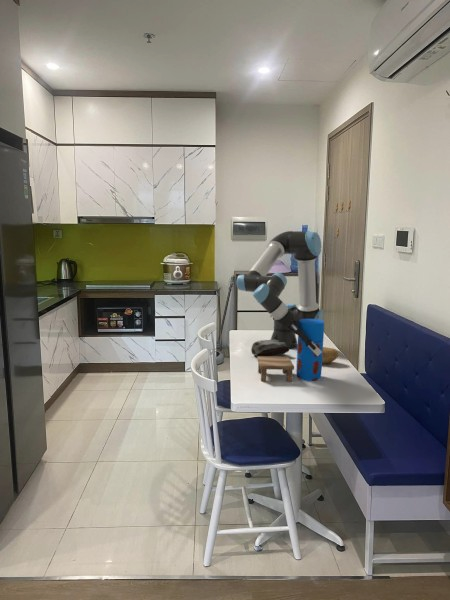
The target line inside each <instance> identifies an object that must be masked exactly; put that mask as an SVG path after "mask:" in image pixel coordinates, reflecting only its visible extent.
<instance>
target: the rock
mask: <svg viewBox="0 0 450 600" xmlns="http://www.w3.org/2000/svg"><path fill="white" fill-rule="evenodd" d="M250 351H251V354H252V355H254V356H255V357H257V356H273V357H278V356H282V355H285V354H286V353H288V352H289V351H290V348H288V347H286V343H285V342H281V341H278V340H275V339H274V340H270V339H261V340H257V341H255V342H253V344H252V345H251V349H250Z"/></svg>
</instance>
